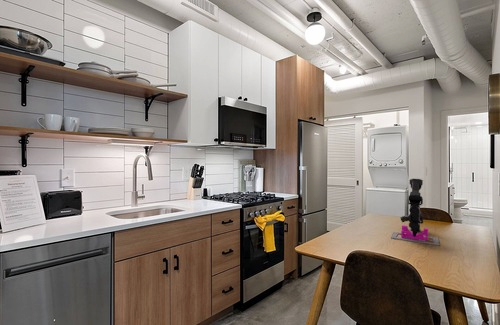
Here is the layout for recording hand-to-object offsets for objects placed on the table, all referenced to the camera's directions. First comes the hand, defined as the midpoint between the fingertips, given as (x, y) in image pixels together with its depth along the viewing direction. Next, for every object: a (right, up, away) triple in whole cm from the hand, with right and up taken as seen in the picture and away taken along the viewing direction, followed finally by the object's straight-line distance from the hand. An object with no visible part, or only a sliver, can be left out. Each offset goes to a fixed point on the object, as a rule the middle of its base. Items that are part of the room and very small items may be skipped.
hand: (414, 235), depth 179 cm
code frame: (0, -2, 0) cm, 2 cm away
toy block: (0, -2, 0) cm, 2 cm away
